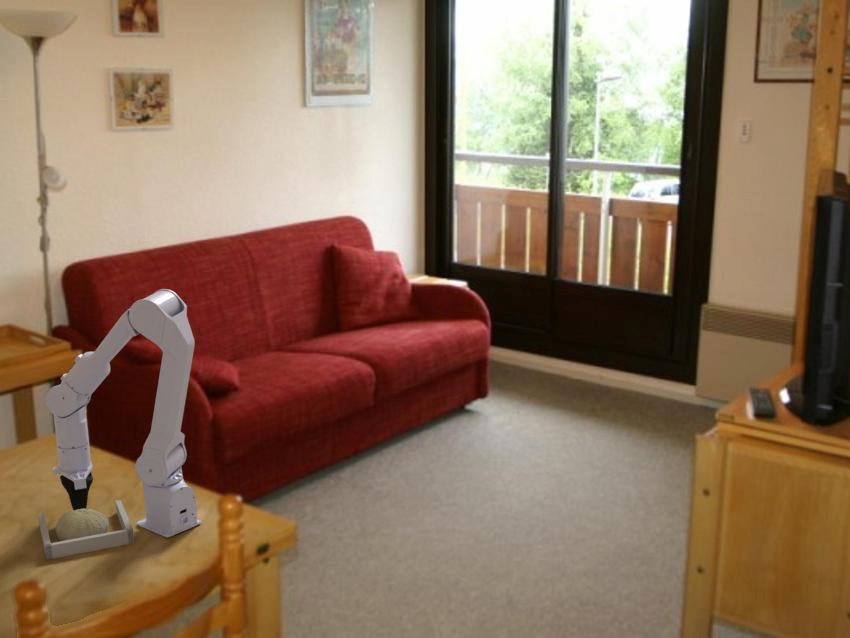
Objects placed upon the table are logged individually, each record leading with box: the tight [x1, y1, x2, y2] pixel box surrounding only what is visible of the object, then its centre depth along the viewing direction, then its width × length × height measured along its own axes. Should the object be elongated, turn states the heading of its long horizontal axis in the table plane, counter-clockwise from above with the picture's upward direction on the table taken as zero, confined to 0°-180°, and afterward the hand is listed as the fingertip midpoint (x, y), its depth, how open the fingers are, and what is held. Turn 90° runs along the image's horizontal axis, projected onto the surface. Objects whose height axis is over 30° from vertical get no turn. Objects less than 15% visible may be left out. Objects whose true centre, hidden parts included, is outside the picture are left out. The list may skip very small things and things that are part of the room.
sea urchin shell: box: [54, 508, 110, 542], centre depth 192 cm, size 9×8×8 cm
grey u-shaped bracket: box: [37, 499, 135, 561], centre depth 193 cm, size 15×15×2 cm
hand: (79, 511), depth 200 cm, fingers closed
